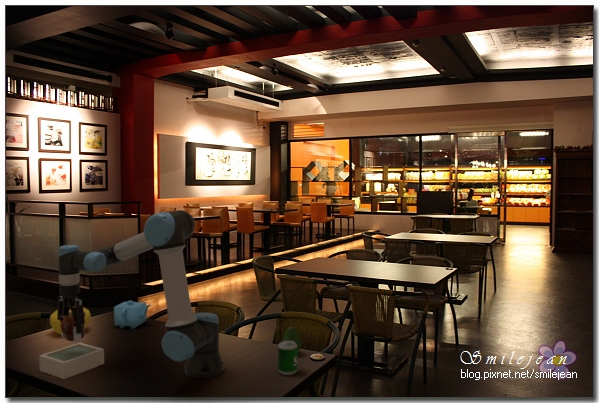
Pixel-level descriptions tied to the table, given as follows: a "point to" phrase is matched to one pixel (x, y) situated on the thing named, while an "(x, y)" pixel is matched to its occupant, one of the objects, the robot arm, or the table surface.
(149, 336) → the table surface
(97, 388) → the table surface
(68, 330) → the mug
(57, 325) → the vase
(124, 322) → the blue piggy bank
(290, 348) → the soda can
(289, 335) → the fruit
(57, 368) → the rectangular box
